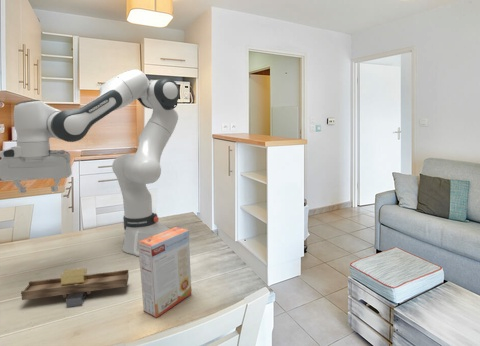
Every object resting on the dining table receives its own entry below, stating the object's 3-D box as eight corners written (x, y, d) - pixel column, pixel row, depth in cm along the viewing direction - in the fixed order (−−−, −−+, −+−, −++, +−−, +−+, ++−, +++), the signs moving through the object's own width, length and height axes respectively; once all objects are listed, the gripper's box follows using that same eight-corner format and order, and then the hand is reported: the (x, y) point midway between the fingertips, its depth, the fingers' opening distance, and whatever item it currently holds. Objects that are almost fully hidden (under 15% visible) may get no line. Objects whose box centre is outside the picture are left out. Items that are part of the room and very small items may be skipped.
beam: (128, 279, 99) (128, 269, 98) (127, 289, 93) (126, 278, 92) (30, 291, 92) (29, 281, 91) (22, 303, 86) (20, 291, 85)
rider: (87, 279, 94) (86, 267, 93) (84, 286, 90) (83, 274, 90) (66, 282, 93) (64, 270, 92) (62, 289, 89) (60, 276, 88)
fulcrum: (90, 284, 99) (90, 277, 98) (82, 305, 87) (81, 297, 87) (77, 285, 98) (76, 278, 97) (66, 307, 86) (65, 299, 86)
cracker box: (178, 288, 96) (175, 225, 93) (192, 294, 93) (190, 229, 89) (141, 311, 85) (137, 240, 81) (156, 318, 81) (152, 245, 78)
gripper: (72, 149, 105) (75, 188, 107) (3, 150, 99) (8, 191, 102) (66, 150, 99) (70, 192, 101) (-7, 152, 93) (-1, 196, 96)
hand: (38, 192), depth 101 cm, fingers open, 8 cm apart
